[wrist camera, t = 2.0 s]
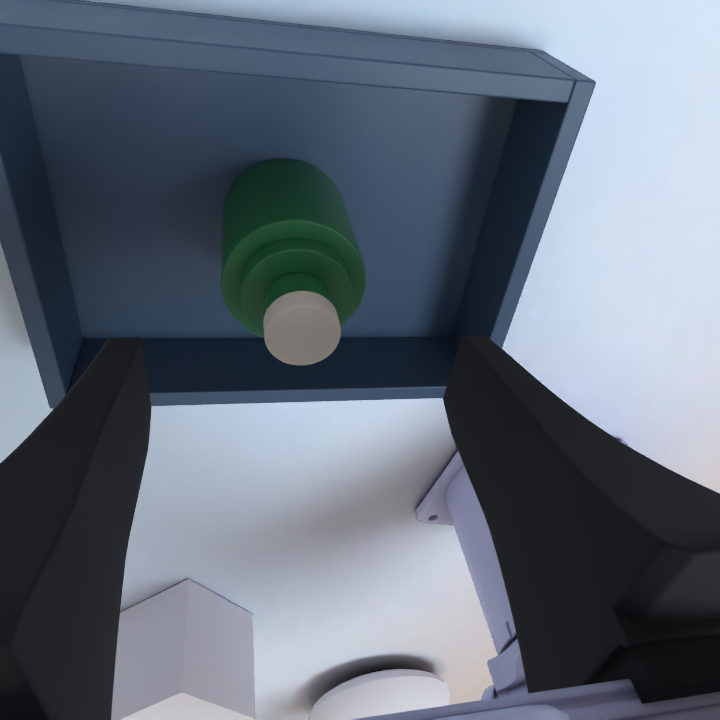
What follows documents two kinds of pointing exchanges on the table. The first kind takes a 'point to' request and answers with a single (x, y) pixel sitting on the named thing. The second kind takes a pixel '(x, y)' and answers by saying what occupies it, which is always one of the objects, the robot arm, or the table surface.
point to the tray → (251, 147)
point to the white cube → (184, 658)
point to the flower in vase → (382, 695)
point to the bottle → (290, 259)
